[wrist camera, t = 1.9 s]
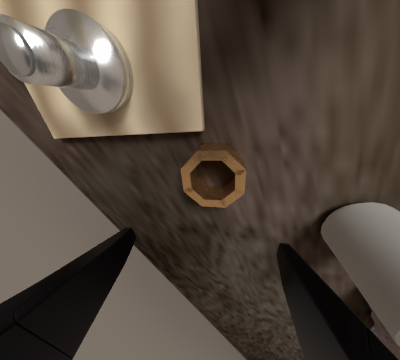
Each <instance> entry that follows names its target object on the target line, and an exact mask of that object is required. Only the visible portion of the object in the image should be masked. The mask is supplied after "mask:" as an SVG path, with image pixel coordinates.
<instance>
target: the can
mask: <svg viewBox="0 0 400 360" xmlns="http://www.w3.org/2000/svg"><path fill="white" fill-rule="evenodd" d="M321 235H322V237H323V239H324V241H325V242H326V244H327V245H328V246H329V248H330V249H331V251H332V252H333V254H334V255H335V256H336V258H337V259H338V261H339V262H340V264H341V265H342V266H343V268H344V269H345V271H346V272H347V274H348V275H349V277H350V278H351V279H352V281H353V282H354V284H355V285H356V287H357V288H358V289H359V291H360V292H361V294H362V295H363V297H364V298H365V300H366V301H367V302H368V304H369V305H370V307H371V308H372V310H373V311H374V312H375V314H376V315H377V317H378V318H379V320H380V321H381V322H382V324H383V325H384V327H385V328H386V330H387V331H388V333H389V334H390V335H391V337H392V338H393V340H394V341H395V343H396V344H397V345H398V346H400V212H399V211H398V210H396V209H394V208H392V207H390V206H388V205H386V204H380V203H374V202H371V203H358V204H351V205H347V206H343V207H341V208H339V209H337V210H335V211H334V212H332V213H331V214H330V215H329V216H328V217H327V218H326V220H325V221H324V223H323V224H322V227H321Z"/></svg>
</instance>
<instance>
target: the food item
mask: <svg viewBox="0 0 400 360" xmlns="http://www.w3.org/2000/svg"><path fill="white" fill-rule="evenodd" d="M369 307H370V305H369ZM370 308H371V307H370ZM371 310H372V308H371ZM371 317H372V319H373V320H374V328H375V332H376V334H377V336H378V339H379V340H380V341H381V342H382V343H383V344H384V345H385V346H386V347H387V348H388V349H389V350H390V351H391V352H392V353H393V354H394V355H395V356H396V357H397V358H398V359H399V360H400V346H398V345H397V344H396V343H395V341H394V340H393V338H392V337H391V335H390V334H389V333H388V331H387V330H386V328H385V327H384V325H383V324H382V322H381V321H380V320H379V318H378V317H377V315H376V314H375V312H374V311H373V310H372V313H371Z"/></svg>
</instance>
